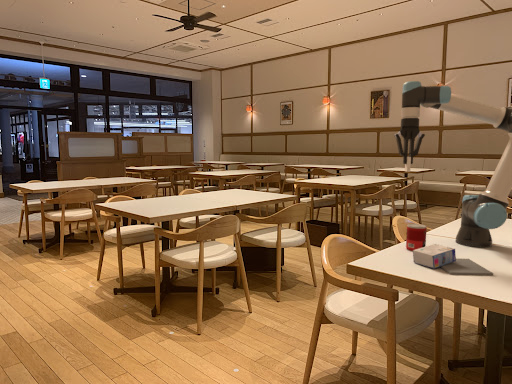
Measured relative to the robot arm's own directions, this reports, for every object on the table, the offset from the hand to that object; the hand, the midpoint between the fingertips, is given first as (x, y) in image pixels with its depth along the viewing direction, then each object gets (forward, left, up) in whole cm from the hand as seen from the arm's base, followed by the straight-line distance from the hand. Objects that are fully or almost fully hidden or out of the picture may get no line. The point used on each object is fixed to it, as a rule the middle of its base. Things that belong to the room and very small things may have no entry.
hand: (407, 171), depth 176 cm
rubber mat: (-11, +30, -34) cm, 47 cm away
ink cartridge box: (+3, +30, -32) cm, 44 cm away
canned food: (-3, +5, -35) cm, 35 cm away
